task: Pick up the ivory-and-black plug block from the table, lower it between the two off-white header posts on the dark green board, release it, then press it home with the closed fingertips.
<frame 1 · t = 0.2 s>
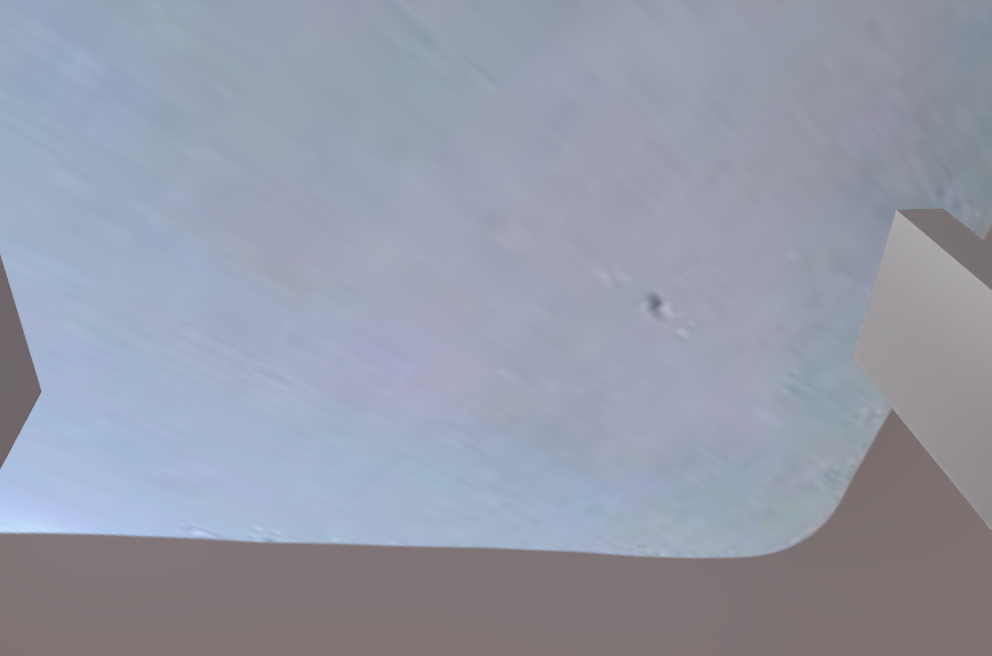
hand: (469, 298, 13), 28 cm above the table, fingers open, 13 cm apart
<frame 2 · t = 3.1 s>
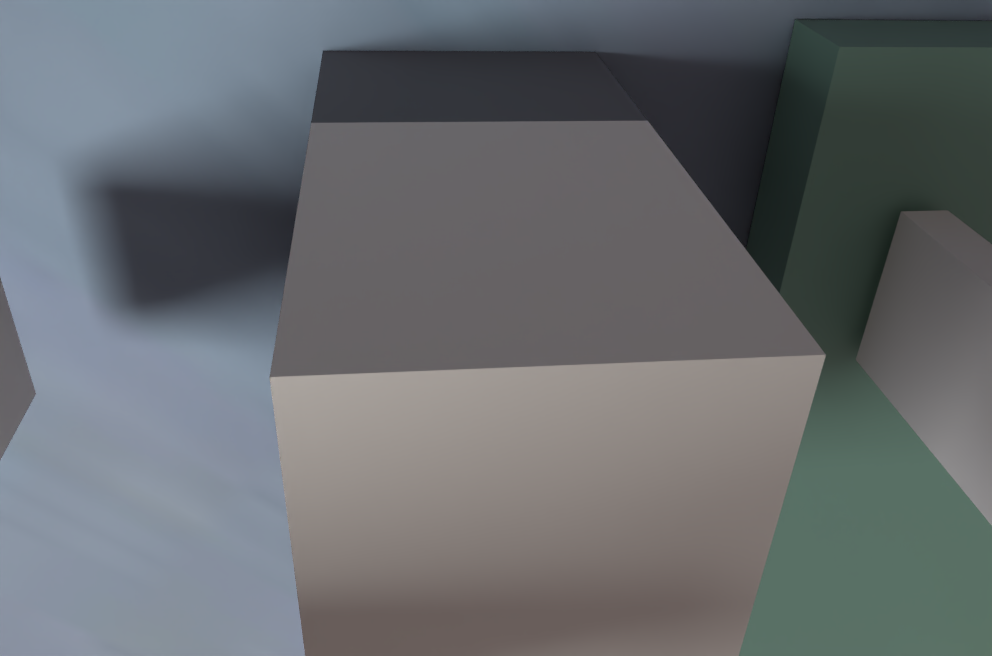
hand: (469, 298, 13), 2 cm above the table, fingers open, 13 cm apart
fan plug: (458, 234, 15), on the table
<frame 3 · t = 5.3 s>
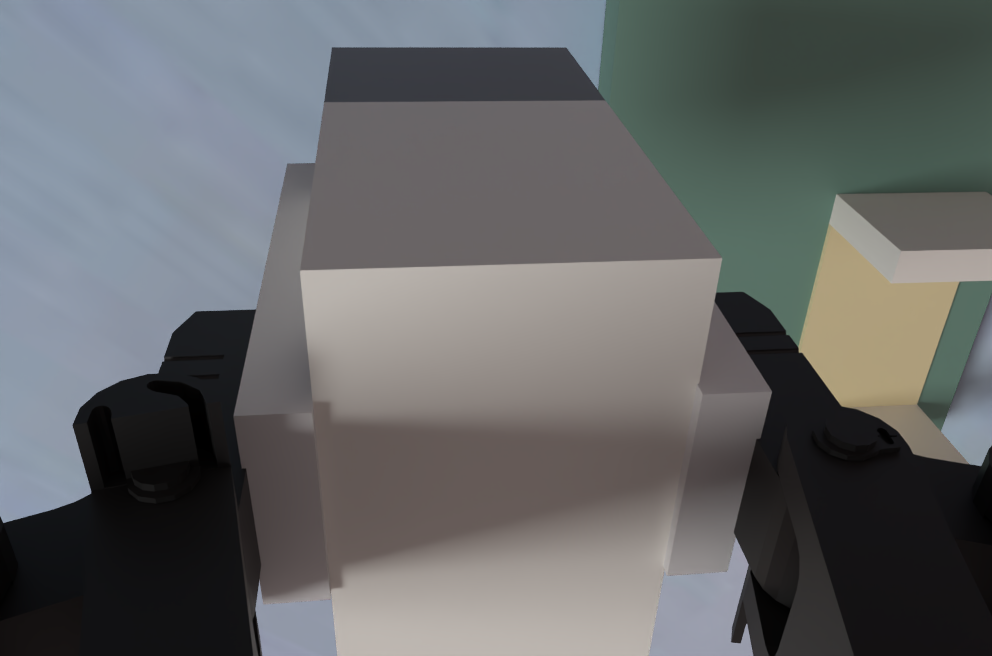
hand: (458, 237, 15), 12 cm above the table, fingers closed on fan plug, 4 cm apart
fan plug: (450, 209, 17), point 10 cm above the table, touching gripper
header board: (791, 221, 29), on the table
when the fingers open (3 cm above the table, at t = 9.7 s): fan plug stays where it is, resting on header board.
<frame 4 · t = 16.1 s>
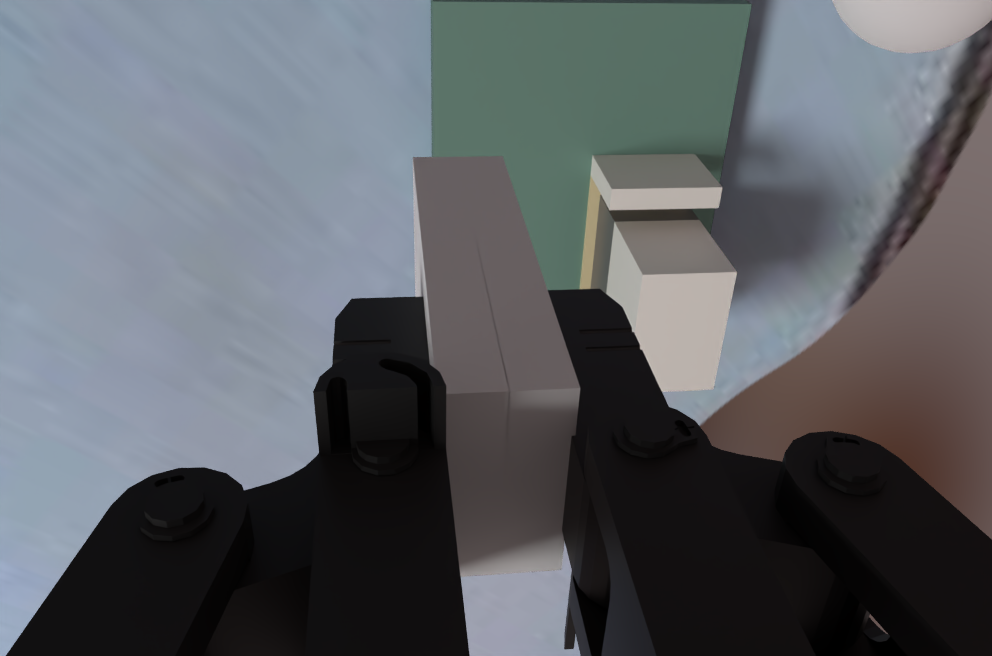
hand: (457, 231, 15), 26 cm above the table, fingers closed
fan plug: (633, 249, 44), point 2 cm above the table, touching header board
header board: (573, 174, 44), on the table
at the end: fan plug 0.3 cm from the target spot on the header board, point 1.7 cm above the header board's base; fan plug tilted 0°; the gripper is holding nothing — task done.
